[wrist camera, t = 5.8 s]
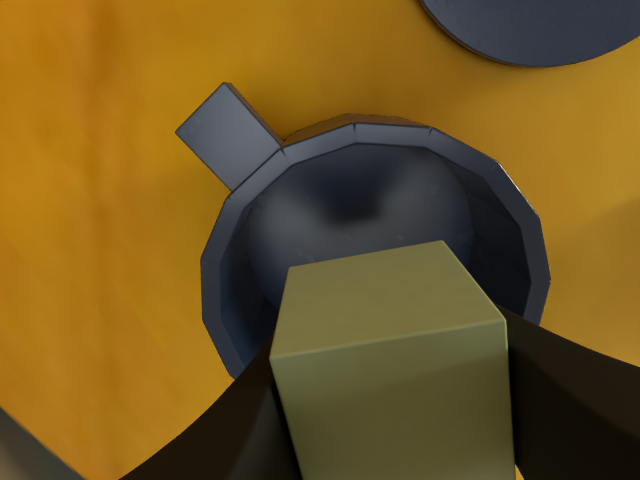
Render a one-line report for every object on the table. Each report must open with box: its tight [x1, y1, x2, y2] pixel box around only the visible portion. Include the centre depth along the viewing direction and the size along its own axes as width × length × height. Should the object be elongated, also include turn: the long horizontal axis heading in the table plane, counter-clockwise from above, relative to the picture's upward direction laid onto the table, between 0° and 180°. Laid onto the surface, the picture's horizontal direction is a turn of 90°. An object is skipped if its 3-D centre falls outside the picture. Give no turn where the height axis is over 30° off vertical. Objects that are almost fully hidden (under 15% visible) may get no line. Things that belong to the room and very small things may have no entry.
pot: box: [175, 82, 551, 380], centre depth 18 cm, size 12×18×6 cm
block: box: [269, 240, 516, 480], centre depth 10 cm, size 4×4×4 cm
